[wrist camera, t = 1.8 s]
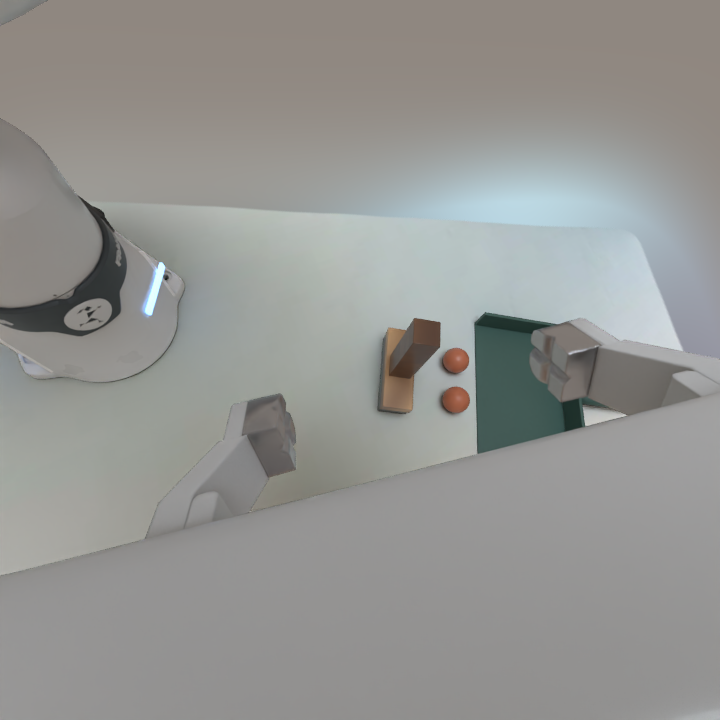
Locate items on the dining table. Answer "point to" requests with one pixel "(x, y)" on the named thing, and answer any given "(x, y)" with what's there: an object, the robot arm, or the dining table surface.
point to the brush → (405, 363)
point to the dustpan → (515, 387)
